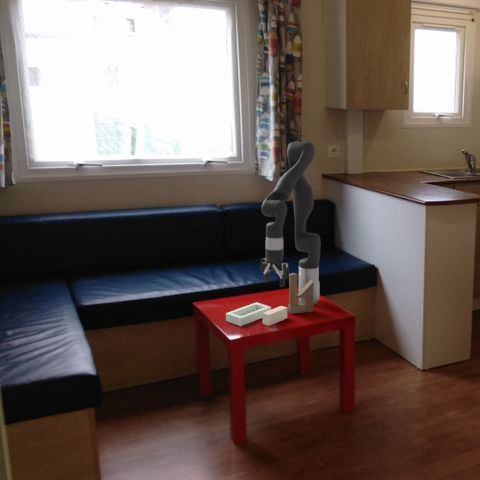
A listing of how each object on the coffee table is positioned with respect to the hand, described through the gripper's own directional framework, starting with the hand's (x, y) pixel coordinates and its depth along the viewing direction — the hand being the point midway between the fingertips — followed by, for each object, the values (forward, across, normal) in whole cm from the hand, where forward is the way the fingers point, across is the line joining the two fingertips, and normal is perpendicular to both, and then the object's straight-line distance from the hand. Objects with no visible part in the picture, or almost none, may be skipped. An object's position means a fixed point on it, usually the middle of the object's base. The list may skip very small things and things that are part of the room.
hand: (274, 284), depth 226 cm
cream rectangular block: (+17, 0, 0) cm, 17 cm away
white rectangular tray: (+16, +11, +5) cm, 20 cm away
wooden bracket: (+16, -1, -16) cm, 23 cm away
